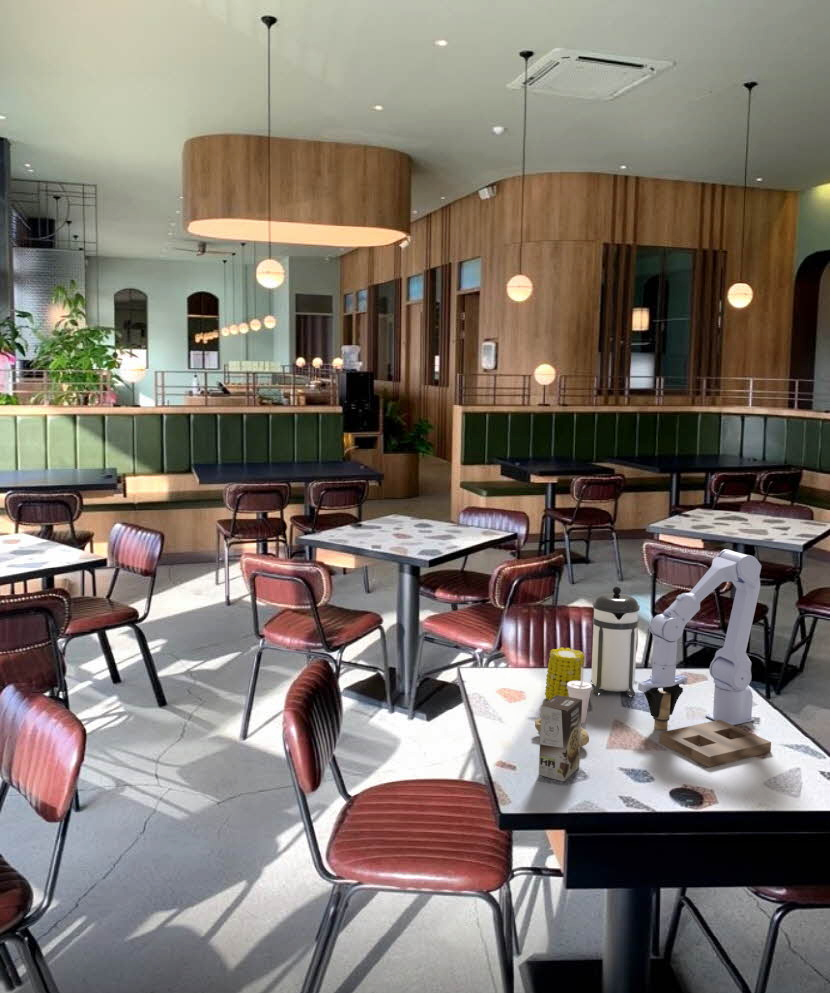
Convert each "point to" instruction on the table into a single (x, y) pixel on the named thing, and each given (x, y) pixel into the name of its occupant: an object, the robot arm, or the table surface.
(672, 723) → the table surface
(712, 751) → the walnut board
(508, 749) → the table surface
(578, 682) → the smoothie
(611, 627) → the coffee press
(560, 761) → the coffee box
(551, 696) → the food
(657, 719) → the oak peg
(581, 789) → the table surface
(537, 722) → the oil lamp
